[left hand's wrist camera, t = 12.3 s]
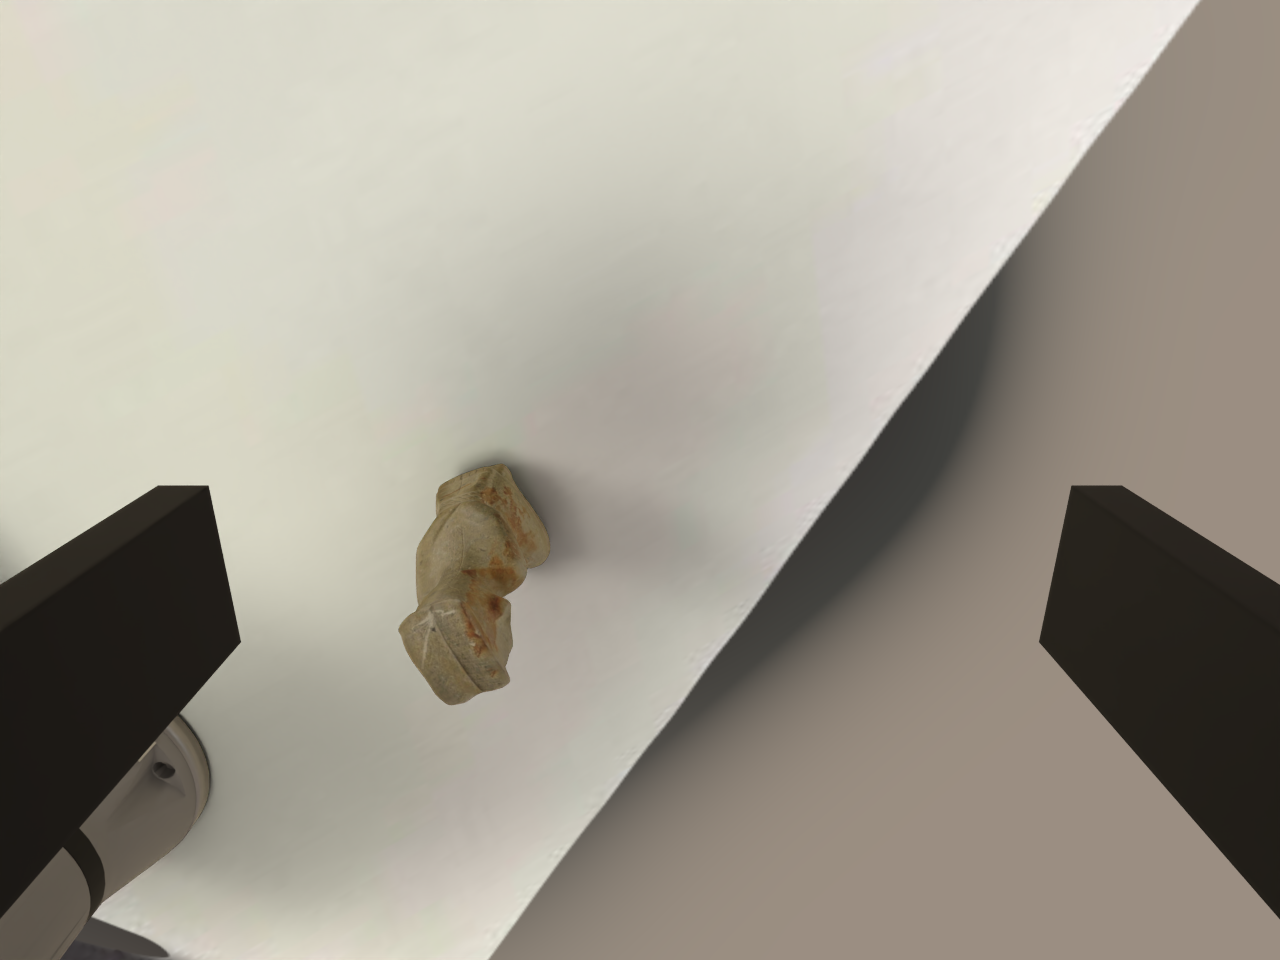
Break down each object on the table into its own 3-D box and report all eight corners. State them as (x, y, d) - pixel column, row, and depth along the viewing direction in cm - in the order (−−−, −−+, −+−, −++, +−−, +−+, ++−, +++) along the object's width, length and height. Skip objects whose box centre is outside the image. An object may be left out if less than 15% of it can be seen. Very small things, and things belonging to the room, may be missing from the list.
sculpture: (480, 574, 49) (416, 731, 35) (430, 472, 47) (341, 596, 33) (567, 545, 48) (537, 694, 34) (522, 440, 46) (470, 553, 32)
